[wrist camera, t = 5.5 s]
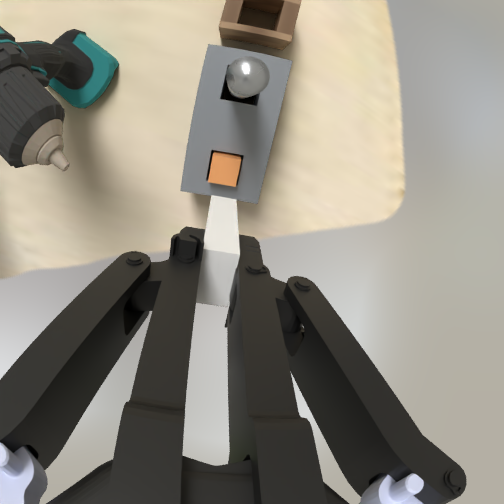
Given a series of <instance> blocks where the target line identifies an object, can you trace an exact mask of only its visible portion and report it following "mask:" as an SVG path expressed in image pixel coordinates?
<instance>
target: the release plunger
mask: <svg viewBox="0 0 504 504" xmlns="http://www.w3.org/2000/svg"><path fill="white" fill-rule="evenodd" d="M240 164H241V156H240V155H239V154H234V153H228V152H223V151H217V150H214V153H213V157H212V163H211V168H210V174H209V179H208V182H210V183H216V184H222V185H228V186H234V187H236V182H237V178H238V173H239V168H240Z"/></svg>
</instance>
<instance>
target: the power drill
mask: <svg viewBox="0 0 504 504" xmlns="http://www.w3.org/2000/svg"><path fill="white" fill-rule="evenodd" d="M118 65H119V63H118V61H117V60H116V59H115V58H114V57H113V56H112V55H111V54H109V53H108V52H107V51H105V50H104V49H103V48H101V47H100V46H99V45H98V44H96V43H95V42H94V41H92V40H91V39H90V38H88V37H87V36H86V33H85V32H82V31H79V30H75V29H72V30H69V31H67V32H65V33H64V34H63V35H61V36H60V37H59V38H58V39H56V40H55V41H54V43H53V44H49V43H47V42H43V41H39V40H38V41H31V42H15V38H14V37H13V36H12V35H11V34H9V33H8V32H7V31H5V30H4V29H3V28H2V27H1V26H0V155H1V156H2V157H3V158H4V159H5V160H6V161H7V162H8V164H9V165H10V166H14V167H15V168H19V167H24V166H27V165H33V164H40V165H49V164H51V163H52V164H54V165H55V166H57V167H58V168H59V169H61V170H62V171H66V170H67V169H68V167H69V165H70V164H69V163H68V161H67V159H66V158H65V156H64V154H63V153H62V150H63V140H62V129H63V121H64V116H65V114H64V109H63V108H62V106H61V104H60V103H59V102H58V101H57V100H56V99H55V98H54V97H53V96H52V95H51V94H50V93H49V92H48V91H47V90H46V89H45V88H44V87H47V86H48V85H49V86H51V87H52V88H53V89H54V90H55V91H56V92H58V93H59V94H60V95H61V96H62V97H63V98H64V99H66V100H67V101H68V102H69V103H70V104H71V105H72V106H74V107H78V108H86V107H87V106H89V105H91V104H92V103H94V102H95V101H96V100H97V99H98V98H99V97H100V96H101V95H102V93H103V92H104V91H105V89H106V88H107V87H108V85H109V83H110V81H111V79H112V77H113V75H114V71H115V69H116V68H117V67H118Z"/></svg>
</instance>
